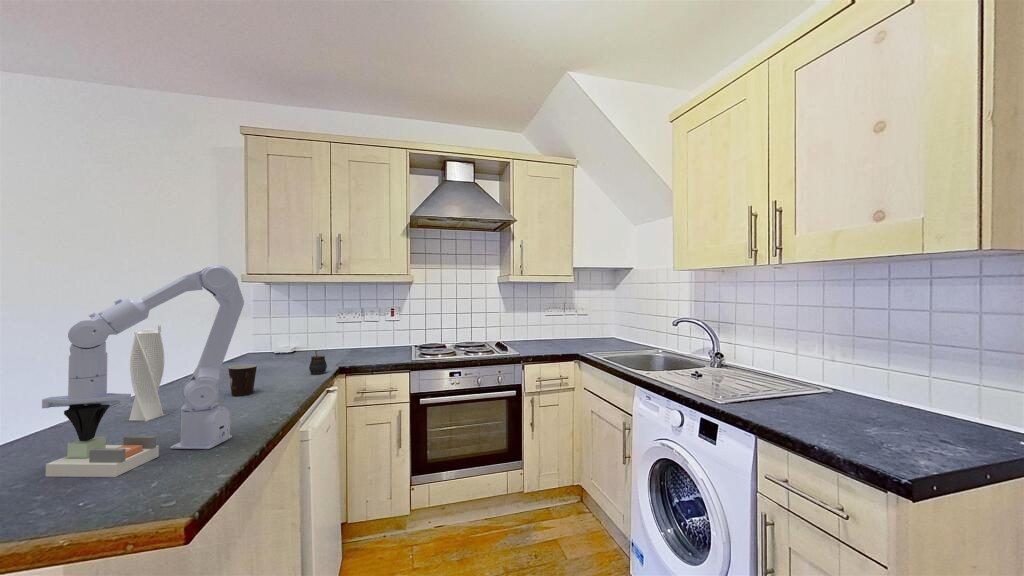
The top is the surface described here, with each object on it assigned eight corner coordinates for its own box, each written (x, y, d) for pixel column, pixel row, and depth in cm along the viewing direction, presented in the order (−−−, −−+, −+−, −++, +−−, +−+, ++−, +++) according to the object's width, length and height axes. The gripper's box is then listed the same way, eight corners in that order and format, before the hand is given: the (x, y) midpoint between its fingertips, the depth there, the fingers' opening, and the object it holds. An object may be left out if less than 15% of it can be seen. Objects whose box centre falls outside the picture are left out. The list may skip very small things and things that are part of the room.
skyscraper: (173, 415, 121) (175, 322, 122) (146, 424, 113) (148, 325, 114) (148, 414, 122) (149, 322, 122) (120, 422, 114) (121, 324, 114)
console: (159, 456, 91) (159, 434, 91) (116, 477, 81) (116, 452, 81) (96, 456, 91) (97, 433, 91) (45, 476, 81) (46, 451, 81)
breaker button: (142, 460, 88) (142, 444, 88) (124, 468, 84) (124, 452, 84) (123, 460, 88) (124, 444, 88) (105, 468, 84) (105, 452, 84)
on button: (105, 451, 88) (106, 436, 88) (86, 459, 84) (86, 443, 84) (87, 451, 88) (87, 436, 88) (67, 459, 84) (67, 443, 84)
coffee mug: (232, 392, 148) (232, 365, 148) (259, 390, 151) (259, 363, 151) (221, 400, 137) (222, 371, 137) (251, 398, 140) (251, 369, 140)
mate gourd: (313, 376, 177) (313, 353, 177) (305, 374, 181) (305, 351, 181) (329, 373, 182) (329, 351, 182) (321, 371, 187) (321, 350, 187)
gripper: (140, 370, 91) (139, 430, 91) (63, 373, 88) (61, 435, 88) (118, 377, 85) (116, 442, 84) (32, 380, 81) (31, 447, 81)
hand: (87, 439), depth 86 cm, fingers closed
